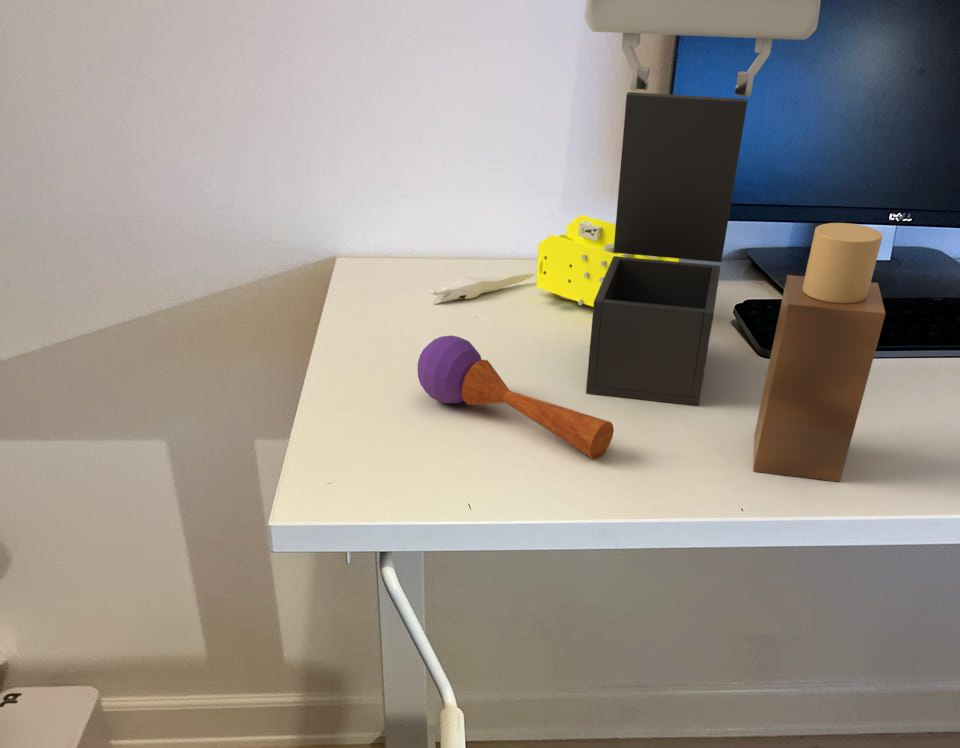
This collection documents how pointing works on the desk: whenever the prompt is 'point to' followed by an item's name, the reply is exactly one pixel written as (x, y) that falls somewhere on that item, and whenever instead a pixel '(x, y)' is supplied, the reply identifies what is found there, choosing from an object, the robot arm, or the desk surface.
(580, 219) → the yellow toy chassis
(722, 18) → the robot arm
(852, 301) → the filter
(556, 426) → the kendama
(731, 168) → the dark box lid
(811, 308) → the stand
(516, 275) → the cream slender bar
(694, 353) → the dark open-top box
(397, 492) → the desk surface
